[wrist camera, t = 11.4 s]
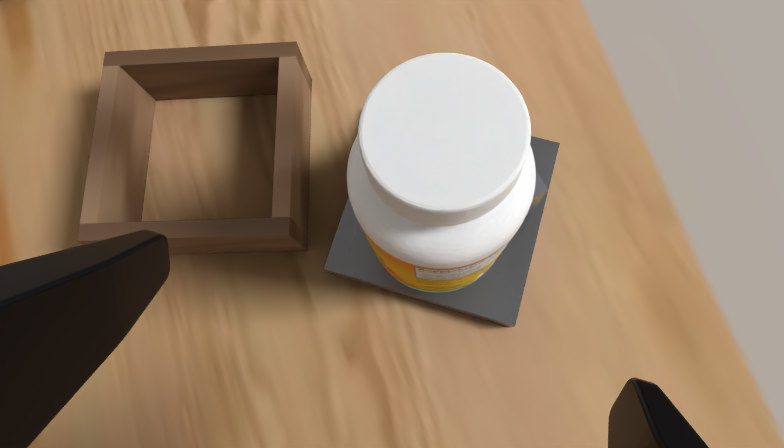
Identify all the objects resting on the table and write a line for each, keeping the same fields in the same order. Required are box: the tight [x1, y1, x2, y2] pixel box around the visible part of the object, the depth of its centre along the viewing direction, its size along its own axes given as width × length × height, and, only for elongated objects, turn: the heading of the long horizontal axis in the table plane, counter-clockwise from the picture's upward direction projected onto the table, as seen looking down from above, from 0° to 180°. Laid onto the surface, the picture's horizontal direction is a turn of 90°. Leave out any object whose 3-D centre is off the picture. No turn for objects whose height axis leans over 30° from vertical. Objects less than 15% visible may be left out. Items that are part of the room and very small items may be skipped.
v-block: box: [324, 136, 560, 327], centre depth 20 cm, size 8×8×4 cm
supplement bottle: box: [347, 53, 536, 292], centre depth 16 cm, size 5×5×10 cm
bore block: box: [77, 42, 312, 254], centre depth 22 cm, size 8×8×3 cm
